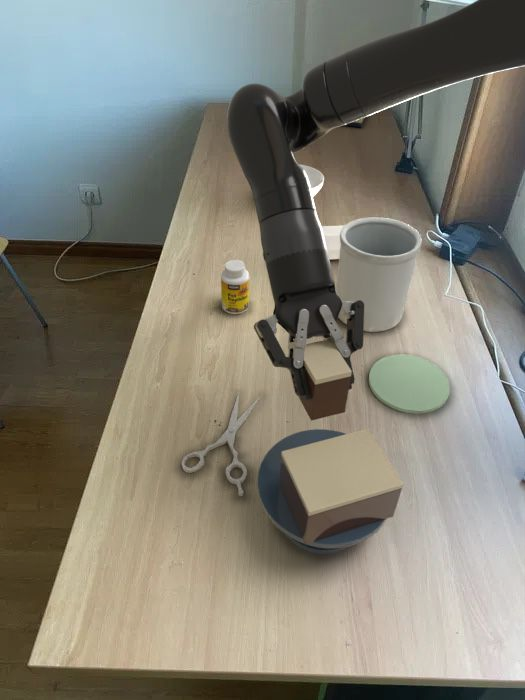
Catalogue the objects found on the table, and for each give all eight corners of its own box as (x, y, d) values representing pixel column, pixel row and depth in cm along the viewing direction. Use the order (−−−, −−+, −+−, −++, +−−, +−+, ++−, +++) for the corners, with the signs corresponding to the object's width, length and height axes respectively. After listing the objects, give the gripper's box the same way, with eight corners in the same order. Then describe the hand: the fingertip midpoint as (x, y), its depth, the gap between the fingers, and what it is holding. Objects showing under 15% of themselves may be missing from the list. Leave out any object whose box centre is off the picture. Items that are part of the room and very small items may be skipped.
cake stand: (350, 450, 88) (363, 383, 78) (408, 552, 76) (432, 487, 66) (240, 480, 84) (239, 413, 74) (283, 594, 71) (288, 531, 61)
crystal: (298, 252, 124) (404, 249, 125) (295, 224, 126) (399, 220, 128) (294, 267, 131) (395, 264, 133) (291, 240, 133) (390, 237, 135)
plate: (437, 357, 105) (438, 354, 104) (458, 413, 94) (459, 410, 94) (363, 357, 104) (363, 354, 104) (375, 413, 94) (376, 410, 94)
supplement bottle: (225, 317, 113) (223, 274, 106) (219, 301, 117) (217, 259, 110) (252, 313, 114) (252, 270, 107) (245, 297, 118) (245, 255, 111)
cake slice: (325, 379, 73) (330, 338, 68) (345, 412, 69) (352, 371, 64) (293, 386, 72) (296, 346, 67) (311, 421, 68) (315, 379, 63)
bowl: (330, 212, 145) (332, 187, 141) (270, 219, 142) (271, 193, 138) (311, 185, 157) (313, 161, 152) (255, 191, 154) (255, 166, 149)
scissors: (174, 475, 83) (221, 383, 97) (175, 478, 84) (221, 386, 98) (242, 494, 81) (280, 397, 95) (242, 497, 82) (280, 400, 96)
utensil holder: (322, 293, 119) (330, 219, 107) (388, 286, 122) (403, 212, 110) (344, 338, 108) (355, 261, 97) (416, 329, 111) (435, 252, 99)
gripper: (245, 257, 62) (279, 409, 62) (362, 237, 66) (395, 380, 65) (232, 272, 69) (262, 407, 69) (338, 253, 73) (367, 382, 72)
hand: (326, 393), depth 67 cm, fingers closed on cake slice, 4 cm apart
